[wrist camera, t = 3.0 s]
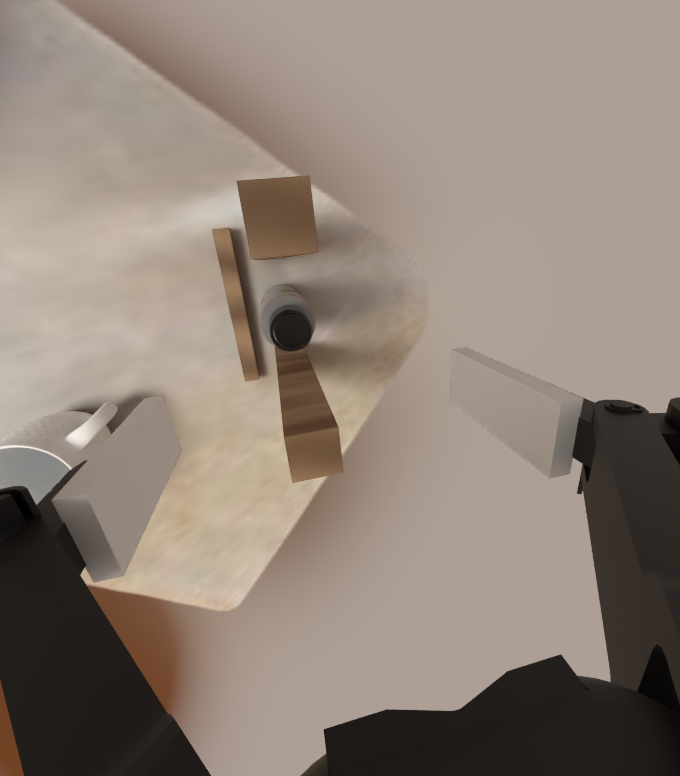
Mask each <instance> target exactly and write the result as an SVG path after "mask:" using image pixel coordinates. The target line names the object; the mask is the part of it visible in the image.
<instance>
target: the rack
mask: <svg viewBox="0 0 680 776" xmlns="http://www.w3.org/2000/svg"><path fill="white" fill-rule="evenodd" d="M237 185H238V191H239V196H240V202H241V207H242V212H243V218H244V223H245V229H246V234H247V240H248V245H249V250H250V256H251V259H254V260H263V259H273V258H282V257H291V256H297V255H304V254H310V253H317V252H318V245H317V236H316V227H315V219H314V210H313V201H312V193H311V184H310V176H297V177H283V178H269V179H255V180H241V181H237ZM212 231H213V236H214V241H215V245H216V250H217V254H218V259H219V264H220V268H221V273H222V277H223V282H224V286H225V291H226V296H227V300H228V305H229V309H230V314H231V319H232V323H233V328H234V332H235V337H236V341H237V346H238V351H239V355H240V360H241V364H242V369H243V374H244V378H245V381H251V380H257V379H259V370H258V365H257V360H256V355H255V350H254V345H253V340H252V335H251V330H250V325H249V320H248V315H247V310H246V305H245V300H244V295H243V290H242V285H241V280H240V275H239V270H238V265H237V260H236V255H235V250H234V245H233V240H232V235H231V230H230V229H229V228H224V229H213V230H212ZM275 352H276V362H277V372H278V382H279V392H280V402H281V412H282V422H283V432H284V440H285V445H286V451H287V456H288V462H289V467H290V472H291V478H292V483H295V482H299V481H304V480H309V479H314V478H319V477H323V476H328V475H333V474H338V473H342V472H343V463H342V455H341V446H340V437H339V428H338V425H337V423H336V421H335V418H334V416H333V414H332V411H331V409H330V407H329V404H328V402H327V400H326V397H325V395H324V393H323V390H322V388H321V386H320V383H319V381H318V379H317V377H316V374H315V372H314V370H313V367H312V365H311V363H310V360H309V358H308V356H307V353H306V351H305V349H304V348H302V349H300V350H298V351H292V352H289V351H284V350H281V349H279V348H278V347H276V346H275Z"/></svg>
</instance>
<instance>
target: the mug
mask: <svg viewBox="0 0 680 776" xmlns="http://www.w3.org/2000/svg"><path fill="white" fill-rule="evenodd" d="M117 411H118V408H117V407H116V405H115V404H113V403H112V402H109V401H106V402H105V403H104V404H103V405H102V406H101V407H100V408H99V409H98V410H97V411H96V412H95V413H94V414H93V415H92V414H89V413H85V412H78V411H65V412H59V413H56V414H51V415H48V416H44V417H42V418H39V419H36V420H35V421H32V422H29V423H28V424H26V425H24V426H22V427H20V428H19V429H17V430H15V431H13V432H12V433H11V434H9V435H7V436H5V437H4V438H3V439H2V440H0V489H3V488H8V487H12V486H24V487H26V488H28V490H29V492H30V494H31V496H32V498H33V500H34V501H35V503H36V505H37V504H38V503H39V502H40V501H41V500H42V499H43V498H44V497H45V495H46V494H47V493H48V492H50V491H51V489H52V488H53V487H54V486H55V485H56V484H57V483H60V480H61V479H62V478H63V477H64V476H65V475H66V473H67V472H68V471H69V470H71V469H72V468H74V467H75V466H77V465H79V464H80V463H82V462H83V461H85V460H89V458H90V457H91V456H92V455H93V454H94V453H95V452H96V451H97V450H98V449H99V448H100V446H101V445H102V444H103V443H104V442H105V441H106V440H107V439H108V438H109V437H110V435H111V433H110V430H109V428H108V426H107V425H106V424H107V423H108V422H109V421H110V420H111V419H112V418H113V416H114V415H115V414H116V412H117Z"/></svg>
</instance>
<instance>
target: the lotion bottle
mask: <svg viewBox="0 0 680 776" xmlns="http://www.w3.org/2000/svg"><path fill="white" fill-rule="evenodd" d="M260 327H261V331H262V333H263V335H264V337H265V338H266V339H267V340H268V341H269V342H270V343H271V344H272V345H274V346H276V347H278V348H279V349H281V350H284V351H289V352H292V351H298V350H300V349H302V348H304V347H305V346H306V345H307V344H308V343H309V342H310V340H311V337H312V335H313V333H314V330H315V315H314V312H313V310H312V308H311V306H310V305H309V304H308V303H307V301H306V300H305V299H304V298H303V297H302V296H301V295H300V294H299V293H298V292H297V291H296V290H294V289H293V288H291V287H289V286H286V285H276V286H273V287H271V288H270V289H268V290H267V291H266V293H265V294H264V296H263V299H262V303H261V312H260Z"/></svg>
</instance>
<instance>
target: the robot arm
mask: <svg viewBox="0 0 680 776" xmlns="http://www.w3.org/2000/svg"><path fill="white" fill-rule="evenodd" d="M450 382H451V383H450V384H451V385H450V402H451V403H452V404H453V405H455V406H456V407H457V408H459V409H460V410H461V411H463V412H464V413H465V414H466V415H468V416H469V417H470V418H472V419H473V420H474V421H476V422H477V423H478V424H479V425H481V426H482V427H483V428H485V429H486V430H487V431H489V432H490V433H491V434H492V435H494V436H495V437H496V438H498V439H499V440H500V441H501V442H503V443H504V444H505V445H507V446H508V447H509V448H511V449H512V450H513V451H515V452H516V453H517V454H518V455H520V456H521V457H522V458H524V459H525V460H526V461H528V462H529V463H530V464H531V465H533V466H534V467H535V468H537V469H538V470H539V471H540V472H542V473H543V474H544V475H546V476H547V477H548V478H554V477H558V476H563V475H567V474H570V470H571V464H572V459H573V458H575V459H576V460H578V461H579V462H581V463H583V465H582V471H581V476H580V481H579V486H578V491H577V494H581V493H582V491H583V493H584V499H585V506H586V513H587V519H588V526H589V533H590V539H591V546H592V553H593V560H594V566H595V573H596V579H597V586H598V592H599V600H600V605H601V613H602V619H603V626H604V633H605V640H606V646H607V653H608V660H609V666H610V675H611V682H608V681H604V680H600V679H596V678H589V677H583V676H577V675H576V674H575V673H574V672H573V670H572V669H571V667H570V666H569V665H568V663H567V662H566V661H565V659H564V658H563V657H562V655H558V656H555V657H552V658H548V659H545V660H542V661H539V662H536V663H533V664H529V665H527V666H523V667H520V668H517V669H514V670H510V671H507V672H506V673H505V674H504V675H503V676H501V677H500V678H499V679H497V680H496V681H495V682H494V683H492V684H491V685H490V686H489V687H488V688H486V689H485V690H484V691H482V692H481V693H480V694H479V695H477V696H476V697H475V698H474V699H472V700H471V701H470V702H469V703H467V704H466V705H465V706H464V707H462V708H461V709H459V710H455V711H428V710H425V711H424V710H384V711H381V712H378V713H374V714H371V715H368V716H365V717H362V718H358V719H355V720H352V721H349V722H346V723H343V724H339V725H336V726H333V727H330V728H327V729H324V736H325V744H326V753H327V754H325V755H324V756H323V757H321V758H320V759H319V760H317V761H316V762H315V763H313V764H312V765H311V766H310V767H309V768H308V769H307V770H306V771H305V772H304V773H303V774H302V775H301V776H680V398H674V399H671V400H670V402H669V405H668V409H667V412H666V413H649V412H648V411H647V410H646V409H645V408H644V407H642V406H640V405H637V404H634V403H631V402H627V401H622V400H602V401H598V402H596V403H594V402H592V401H589V400H587V399H585V398H583V397H580V396H578V395H576V394H573V393H571V392H568V391H566V390H564V389H561V388H559V387H557V386H555V385H552V384H550V383H547V382H545V381H543V380H540V379H538V378H536V377H533V376H531V375H529V374H526V373H524V372H522V371H519V370H517V369H515V368H513V367H510V366H508V365H506V364H503V363H501V362H498V361H496V360H494V359H492V358H489V357H487V356H485V355H482V354H480V353H478V352H476V351H473V350H471V349H469V348H466V347H465V348H458V349H452V350H451V379H450ZM180 453H181V448H180V445H179V441H178V438H177V435H176V432H175V429H174V426H173V423H172V419H171V416H170V413H169V410H168V407H167V404H166V400H165V397H164V395H160V396H154V397H148V398H144V399H143V400H142V401H141V402H140V404H139V405H138V406H137V407H136V408H135V409H134V410H133V411H132V412H131V413H130V415H129V416H128V417H127V418H126V419H125V420H124V421H123V422H122V423H121V424H120V426H119V427H118V428H117V429H116V430H115V431H114V432H113V433H112V434H111V435H110V437H109V438H108V439H107V440H106V441H105V442H104V443H103V444H102V445H101V446H100V448H99V449H98V450H97V451H96V452H95V453H94V454H93V455H92V456H91V457H90V458H89V460H85V461H83V462H82V463H80V464H79V465H77V466H75V467H74V468H72V469H71V470H69V471H68V472H67V473H66V475H65V476H64V477H63V478H62V479H61V480H60V483H57V484H56V485H55V486H54V487H53V488H52V489H51V491H50V492H48V493H47V494H46V495H45V497H44V498H43V499H42V500H41V501H40V502H39V503H38V504H37V505H36V503H35V501H34V500H33V498H32V496H31V494H30V492H29V490H28V488H26V487H24V486H12V487H8V488H3V489H0V680H1V684H2V688H3V692H4V696H5V700H6V704H7V708H8V712H9V716H10V720H11V724H12V729H13V732H14V736H15V741H16V745H17V749H18V753H19V757H20V761H21V764H22V769H23V773H24V776H211V775H210V774H209V772H208V770H207V769H206V768H205V766H204V764H203V763H202V761H201V760H200V758H199V756H198V755H197V753H196V752H195V750H194V749H193V747H192V745H191V744H190V742H189V741H188V739H187V738H186V736H185V735H184V733H183V731H182V730H181V729H180V727H179V725H178V724H177V722H176V721H175V719H174V718H173V717H172V716H171V714H168V713H167V712H166V710H165V709H164V707H163V706H162V704H161V702H160V701H159V700H158V698H157V696H156V695H155V693H154V691H153V690H152V688H151V687H150V685H149V684H148V682H147V680H146V679H145V677H144V676H143V674H142V673H141V671H140V669H139V668H138V666H137V665H136V663H135V661H134V660H133V658H132V657H131V655H130V654H129V652H128V650H127V649H126V648H125V646H124V644H123V642H122V641H121V639H120V638H119V636H118V635H117V633H116V631H115V630H114V628H113V627H112V625H111V624H110V622H109V620H108V619H107V617H106V616H105V614H104V613H103V611H102V609H101V608H100V606H99V605H98V603H97V601H96V600H95V598H94V597H93V595H92V593H91V592H90V590H89V589H88V587H87V586H86V584H85V582H84V581H83V579H82V578H81V576H80V574H81V573H82V571H83V569H84V568H85V567H86V569H87V571H88V573H89V575H90V577H91V579H92V581H93V583H94V582H98V581H103V580H107V579H112V578H116V577H120V576H124V574H125V572H126V570H127V568H128V566H129V563H130V561H131V559H132V557H133V555H134V553H135V550H136V548H137V546H138V544H139V542H140V540H141V537H142V535H143V533H144V531H145V529H146V527H147V524H148V522H149V520H150V518H151V516H152V514H153V511H154V509H155V507H156V505H157V503H158V501H159V498H160V496H161V494H162V492H163V490H164V487H165V485H166V483H167V481H168V479H169V477H170V474H171V472H172V470H173V468H174V466H175V464H176V461H177V459H178V457H179V455H180Z"/></svg>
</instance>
